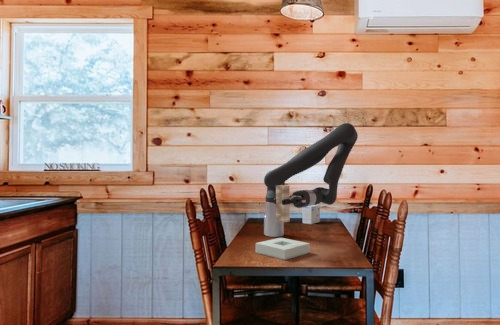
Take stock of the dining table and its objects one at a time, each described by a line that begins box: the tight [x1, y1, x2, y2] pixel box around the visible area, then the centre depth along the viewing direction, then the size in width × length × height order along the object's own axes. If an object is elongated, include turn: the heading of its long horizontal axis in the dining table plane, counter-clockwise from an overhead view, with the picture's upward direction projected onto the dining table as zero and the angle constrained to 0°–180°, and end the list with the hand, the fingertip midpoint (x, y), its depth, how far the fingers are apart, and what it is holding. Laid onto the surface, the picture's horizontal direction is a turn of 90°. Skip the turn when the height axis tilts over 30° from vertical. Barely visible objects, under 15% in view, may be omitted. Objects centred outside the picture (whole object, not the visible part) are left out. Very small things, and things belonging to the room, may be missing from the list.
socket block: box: [254, 237, 311, 261], centre depth 156 cm, size 16×16×4 cm
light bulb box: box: [301, 204, 321, 225], centre depth 230 cm, size 11×7×11 cm, turn 141°
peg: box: [276, 184, 291, 224], centre depth 156 cm, size 4×4×15 cm
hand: (278, 201), depth 154 cm, fingers closed on peg, 4 cm apart
